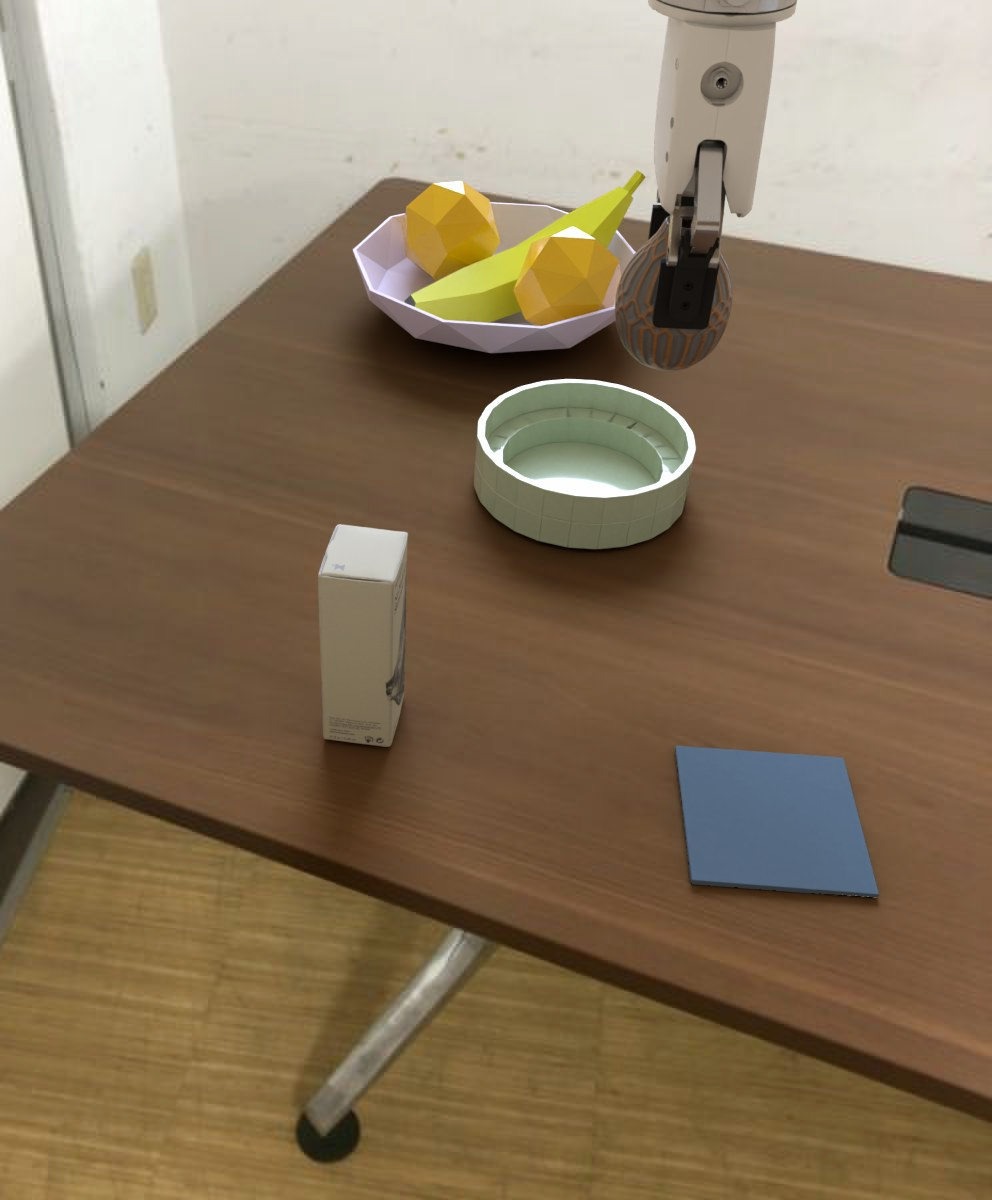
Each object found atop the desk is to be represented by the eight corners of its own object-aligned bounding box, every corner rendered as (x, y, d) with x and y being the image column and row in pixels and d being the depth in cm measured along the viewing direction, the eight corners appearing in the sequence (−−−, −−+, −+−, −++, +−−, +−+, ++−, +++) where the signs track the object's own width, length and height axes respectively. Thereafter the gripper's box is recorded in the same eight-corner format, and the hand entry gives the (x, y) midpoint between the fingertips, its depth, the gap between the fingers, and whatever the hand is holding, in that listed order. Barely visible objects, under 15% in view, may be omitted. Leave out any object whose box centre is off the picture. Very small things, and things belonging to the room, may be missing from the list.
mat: (842, 761, 75) (843, 757, 75) (877, 899, 67) (879, 894, 67) (674, 749, 75) (675, 745, 75) (690, 884, 68) (691, 879, 67)
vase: (629, 320, 81) (647, 189, 76) (733, 344, 79) (760, 210, 73) (593, 367, 77) (609, 231, 71) (702, 394, 74) (728, 255, 69)
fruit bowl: (390, 403, 105) (393, 278, 98) (336, 264, 126) (334, 153, 118) (700, 373, 110) (724, 252, 103) (599, 244, 130) (613, 136, 123)
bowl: (674, 438, 102) (684, 385, 99) (694, 560, 90) (706, 503, 86) (477, 426, 103) (480, 373, 100) (469, 546, 90) (473, 489, 87)
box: (391, 751, 75) (395, 586, 67) (320, 741, 75) (315, 576, 67) (406, 691, 79) (411, 528, 71) (338, 682, 79) (335, 519, 71)
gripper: (828, 26, 57) (755, 371, 68) (777, -62, 70) (723, 239, 82) (662, 21, 57) (617, 364, 69) (642, -65, 71) (607, 234, 82)
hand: (674, 294), depth 75 cm, fingers closed on vase, 6 cm apart
